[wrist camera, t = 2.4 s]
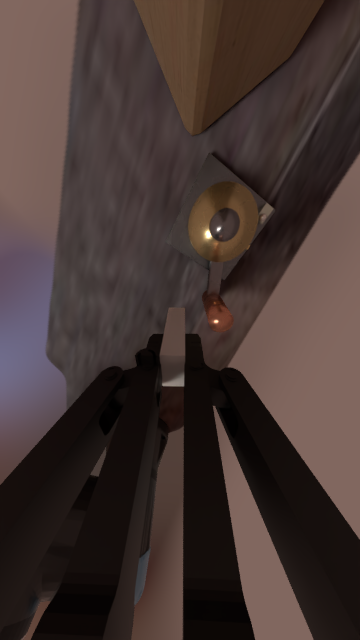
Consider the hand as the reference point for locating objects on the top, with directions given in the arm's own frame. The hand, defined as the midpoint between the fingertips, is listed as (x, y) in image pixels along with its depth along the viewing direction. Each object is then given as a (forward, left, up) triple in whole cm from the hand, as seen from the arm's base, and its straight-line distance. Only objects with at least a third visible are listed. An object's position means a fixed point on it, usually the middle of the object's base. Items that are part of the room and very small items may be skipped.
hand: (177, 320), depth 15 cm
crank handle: (+7, -1, -7) cm, 10 cm away
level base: (+9, 0, -9) cm, 13 cm away
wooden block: (+20, +9, -9) cm, 24 cm away
